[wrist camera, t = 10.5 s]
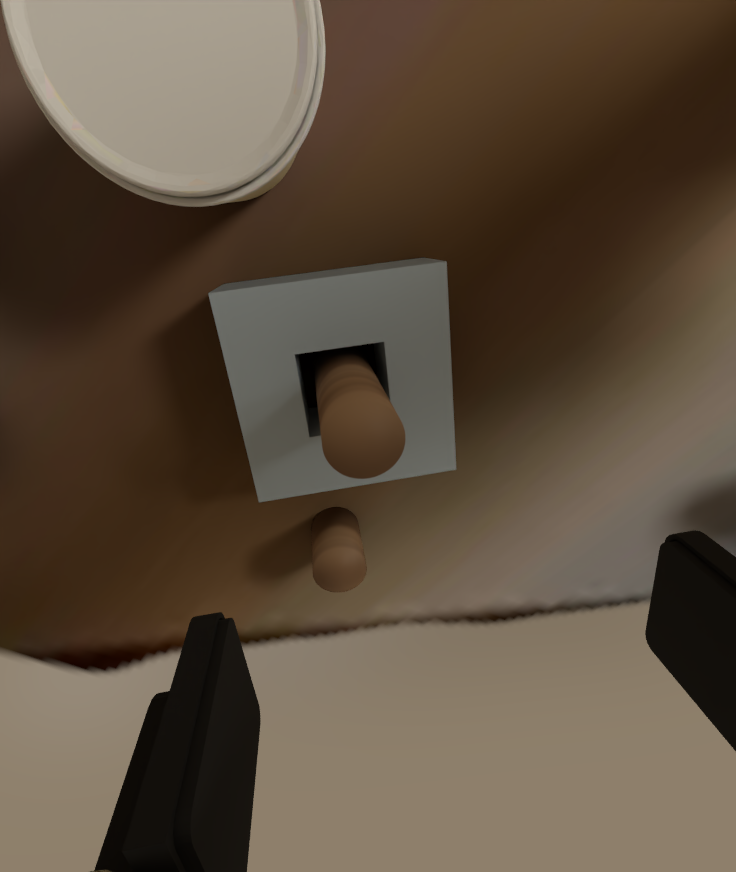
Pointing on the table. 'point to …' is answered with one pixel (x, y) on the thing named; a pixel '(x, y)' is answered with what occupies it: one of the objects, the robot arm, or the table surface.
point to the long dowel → (355, 415)
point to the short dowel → (337, 550)
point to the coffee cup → (176, 88)
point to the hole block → (329, 329)
